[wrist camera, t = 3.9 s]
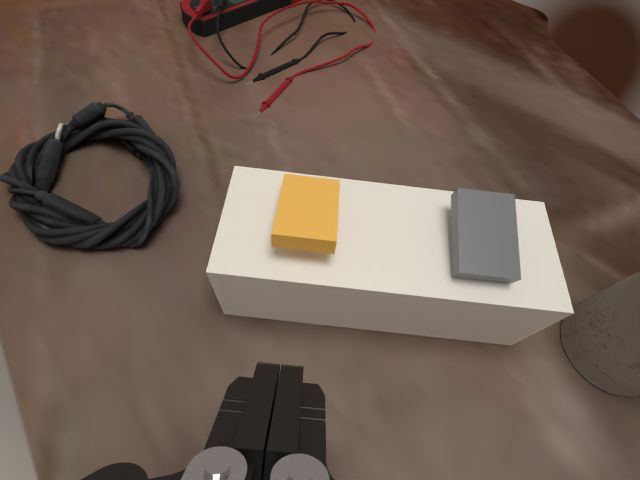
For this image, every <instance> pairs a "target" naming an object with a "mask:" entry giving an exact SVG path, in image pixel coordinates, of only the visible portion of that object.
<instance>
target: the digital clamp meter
mask: <svg viewBox="0 0 640 480" xmlns="http://www.w3.org/2000/svg"><path fill="white" fill-rule="evenodd" d="M298 1H301V0H183V1H181V2H180V8H181V11H182V15H183V20H184V24H185V25H186V27H187V28H188V31H189V33H190V36H191V37H192V39H193V41H194V42H195V43H196V44H197V46H198V47H199V48H200V49H201V50H202V51H203V52H204V53H205V55H206V56H207V57H208V58H209V59H210V60H211V61H212V62H213V63H214V64H215V65H216V66H217V67H218V68H219V69H220V70H221V71H222V72H223V73H224V74H226V75H227V76H228V77H230V78H233V79H239V78H241V77H243V76H245V74H246V73H247V72H248V71H249V70H250V68H251V66H252V65H253V63H254V60H255V57H256V54H257V51H258V48H259V42H260V37H261V30H262V27H263V25H264V23H265V22H266V21H267V20H268V19H270V18H271V17H273V16H274V15H276V14H277V13H279V12H281V11H283V10H285V9H288V8H291V7H294V6H297V5H301V4H306V3H309V4H308V5H307V7H306V9H305V11H304V14H303V17H302V20H301V22H300V24H299V26H298V28H297V29H296V31H295V32H294V33H292V34H291V35H290V36H289V37H288V38H286V39H285V40H284V41H283V42H282V43H281V44H280V45H279V46H278V47H277V48H276V49H275V51H274V52H273V53H272V54H271V55H273V54H274V53H276V52H277V51H278V50H279V49H280V48H281V46H282V45H283V44H284V43H285V42H286V41H287V40H289V39H290V38H291V37H292V36H294V35H295V34H296V33H297V32H298V30H299V29H300V27H301V25H302V23H303V20H304V17H305V14H306V12H307V9H308V7H309V6H310V5H311V4H312V3H324V4H338V5H340V6H341V7H343V8H344V9H345V10H346V11H347V12H348V13H349V14H350V16H351V17H352V19H353V21H354V23H355V19H354V17H353V15H352V14H351V13H350V12H349V10H348V9H347V8H345V7H344V6H343V5H347V6H350V7H352V8H354V9H356V10H357V11H358V12H359V13H361V14H362V15H363V16H364V18H365V19H366V20H367V21H368V22H369V24H370V25H371V27H372V29H373V30H374V32H375V28H374V26H373V24H372V23H371V21H370V20H369V19H368V17H367V16H366V15H365V14H364V13H363V12H362V11H361V10H359V9H358V8H357V7H355V6H354V5H352V4H348V3H344V2H336V1H334V0H327V1H320V0H314V1H303V2H299V3H296V2H298ZM291 3H295V4H292V5H291ZM279 8H282V9H280V10H278V11H276V12H274V13H273V14H272V15H270V16H269V17H267V18H266V19H265V20H264V21H263V22H262V24H261V25H260V28H259V34H258V40H257V45H256V50H255V53H254V56H253V58H252V61H251V63H250V65H249V67H248V68H245V67H243V66H241V65H240V64H239V63H238V62H237V61H236V60H235V59H234V58H233V57H232V55H231V54H230V53H229V52H228V50H227V49H226V47H225V45H224V44H223V42H222V39H221V37H220V34H219V32H220V31H223V30H225V29H228V28H231V27H233V26H236V25H238V24H241V23H243V22H246V21H249V20H251V19H254V18H256V17H259V16H261V15H264V14H267V13H269V12H272V11H274V10H277V9H279ZM192 32H193V33H195V34H197V35H199V36H203V37H208V36H210V35H213V34H215V33H217V34H218V37H219V40H220V43H221V45H222V46H223V48H224V50H225V51H226V53H227V54H228V55H229V56H230V58H231V59H232V60H233V61H234V62H235V63H236V64H237V65H238V66H239V67H240V68H242V69H246V71H245V72H244V73H243V74H242V75H240V76H232V75H230V74H228V73H227V72H226V71H225V70H224V69H223V68H222V67H221V66H220V65H219V64H218V63H217V62H216V61H215V60H214V59H213V58H212V57H211V56H210V55H209V54H208V53H207V52H206V51H205V50H204V49H203V47H202V46H201V45H200V44H199V43H198V42H197V40H196V39H195V38H194V36H193V34H192ZM345 33H347V32H330V33H326V34H324V35H322V36H321V37H320V38H319V39H318V40H317V41H316V43H315V44H314V45H313V46H312V48H311V49H310V50H309V51H308V52H307V53H306V54H305V56H303V57H302V58H300V59H293V60H292V61H290V62H288V63H285V64H283V65H281V66H278V67H276V68H274V69H272V70H270V71H267V72H265V73H263V74H262V73H259V75H258V76H257V77H256V78H255V79H253V80H252V82H256V81H260V80H262V79H263V80H265V78H267V77H269V76H271V75H274V74H276V73H278V72H280V71H282V70H285V69H287V68H289V67H291V66H293V65H295V64H296V65H297V63H299V62H300V61H301V60H302V59H304V58H306V57H307V56H308V54H309V53H310V52H311V51H312V50H313V48H314V47H315V46H316V45H317V43H318V42H319V41H320V40H321V39H322V38H323V37H325V36H327V35H331V34H345ZM375 33H376V32H375ZM372 43H373V41H372V42H371V43H369V44H367V45H362V46H359V47H356V48H354V49H352V50H351V51H350V52H348V53H347V54H345V55H343V56H341V57H339V58H337V59H334V60H332V61H329V62H327V63H324V64H321V65H318V66H315V67H312V68H309V69H306V70H304V71H301V72H299V73H296V74H295V75H293V76H290V77H289V78H286V79H285V80H286V81H285V82H283V83H282V84H281V86H280V87H279V88H278V89H277V90H276V91H275V92H274V93H273V94H272V95H271V96H270V97H269V98H268V99H267V100H266V101H263V102H262V104H263V105H262V106H261V108H260V110H259V111H260V112H263V111H264V110H265V109H267V108H268V107H270V105H271V104H272V103H273V102H274V100H275V99H276V98H277V97H278V96H279V95H280V94H281V93H282V92H283V91H284V90H285V89H286V88H287V86H288V85H289V84H290V83H292V80H293V78H294V77H296V76H298V75H300V74H303V73H305V72H308V71H311V70H314V69H317V68H320V67H323V66H325V65H328V64H331V63H333V62H336V61H338V60H341V59H343V58H345V57H346V56H348V55H349V54H351V53H352V52H353V51H355V50H357V49H360V48H365V47H369V46H370V45H371V44H372ZM252 82H249V83H252ZM249 83H247V84H249ZM247 84H245V85H247ZM260 112H259V113H260ZM259 113H258V114H259ZM258 114H257V115H258ZM257 115H256V116H255V117H257ZM255 117H254V118H255Z"/></svg>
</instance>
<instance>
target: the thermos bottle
mask: <svg viewBox="0 0 640 480" xmlns="http://www.w3.org/2000/svg"><path fill="white" fill-rule="evenodd" d="M572 308H573V311H574V314H572V315H570V316H568V317H566V318H564V319H563V320H562V324H561V339H562V344H563V347H564V349H565V352H566V354H567V356H568V358H569V359H570V361H571V363H572V364H573V365H574V367H575V368H576V369H577V370H578V372H579V373H580V374H581V375H582V376H583V377H585V378H586V379H587V380H588V381H589V382H591V383H592V384H593V385H595V386H596V387H598V388H600V389H602V390H604V391H606V392H608V393H611V394H614V395H617V396H624V397H631V396H640V271H639V272H637V273H635V274H633V275H631V276H629V277H627V278H625V279H623V280H621V281H619V282H617V283H616V284H614V285H612V286H610V287H608V288H606V289H604V290H603V291H601V292H599V293H597V294H595V295H593V296H591V297H590V298H588V299H586V300H584V301H582V302H580V303H578V304H577V305H575V306H573V307H572Z"/></svg>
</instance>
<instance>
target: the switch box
mask: <svg viewBox="0 0 640 480" xmlns="http://www.w3.org/2000/svg"><path fill="white" fill-rule="evenodd" d="M284 174H292V175H301V176H309V177H318V178H326V179H335V180H340V191H339V210H338V229H337V243H336V249H335V254H328V253H319V252H310V251H301V250H293V249H284V248H275V247H271V233H272V229H273V224H274V219H275V215H276V210H277V206H278V201H279V197H280V192H281V187H282V183H283V178H284ZM452 193H453V192H451V191H443V190H434V189H426V188H418V187H409V186H401V185H392V184H384V183H375V182H367V181H358V180H350V179H341V178H333V177H324V176H316V175H307V174H299V173H290V172H282V171H273V170H265V169H256V168H248V167H239V166H235V167H234V170H233V174H232V178H231V182H230V185H229V189H228V193H227V196H226V200H225V204H224V207H223V211H222V215H221V219H220V222H219V226H218V230H217V233H216V237H215V241H214V245H213V248H212V252H211V256H210V259H209V263H208V267H207V270H206V273H207V276H208V278H209V280H210V283H211V285H212V287H213V290H214V292H215V294H216V297H217V299H218V301H219V304H220V306H221V308H222V311H223V313H224V314H226V315H235V316H245V317H254V318H263V319H272V320H281V321H290V322H299V323H309V324H318V325H327V326H336V327H345V328H354V329H363V330H373V331H382V332H391V333H400V334H409V335H418V336H427V337H436V338H446V339H455V340H464V341H473V342H482V343H491V344H500V345H510V346H511V345H513V344H515V343H517V342H519V341H521V340H523V339H525V338H527V337H529V336H531V335H533V334H535V333H537V332H539V331H540V330H542V329H544V328H546V327H548V326H550V325H552V324H554V323H556V322H558V321H560V320H562V319H564V318H566V317H568V316H570V315H572V314H574V311H573V308H572V304H571V300H570V297H569V293H568V289H567V286H566V282H565V278H564V275H563V271H562V267H561V264H560V260H559V256H558V253H557V249H556V245H555V242H554V238H553V234H552V231H551V227H550V223H549V220H548V216H547V212H546V209H545V205H544V202H536V201H528V200H519V199H515V202H516V216H517V229H518V243H519V256H520V270H521V280H519V281H516V282H514V283H502V282H494V281H485V280H476V279H467V278H458V277H452V243H451V195H452Z"/></svg>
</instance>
